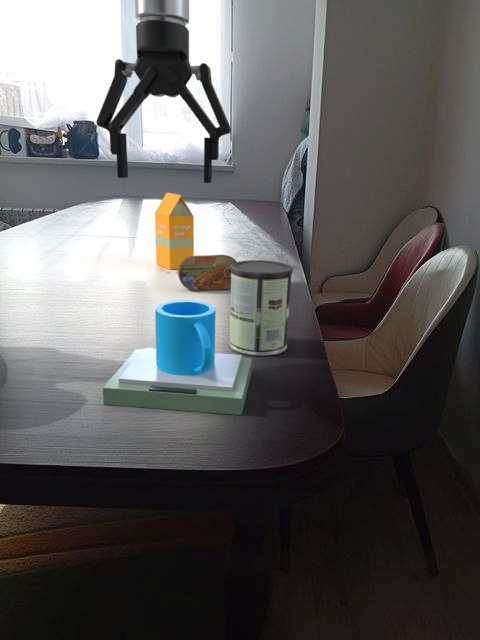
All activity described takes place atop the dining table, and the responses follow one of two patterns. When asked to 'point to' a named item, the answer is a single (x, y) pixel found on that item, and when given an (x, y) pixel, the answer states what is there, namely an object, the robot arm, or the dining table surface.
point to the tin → (206, 272)
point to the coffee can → (259, 307)
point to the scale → (180, 385)
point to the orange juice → (173, 231)
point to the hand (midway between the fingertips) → (165, 180)
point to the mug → (185, 337)
